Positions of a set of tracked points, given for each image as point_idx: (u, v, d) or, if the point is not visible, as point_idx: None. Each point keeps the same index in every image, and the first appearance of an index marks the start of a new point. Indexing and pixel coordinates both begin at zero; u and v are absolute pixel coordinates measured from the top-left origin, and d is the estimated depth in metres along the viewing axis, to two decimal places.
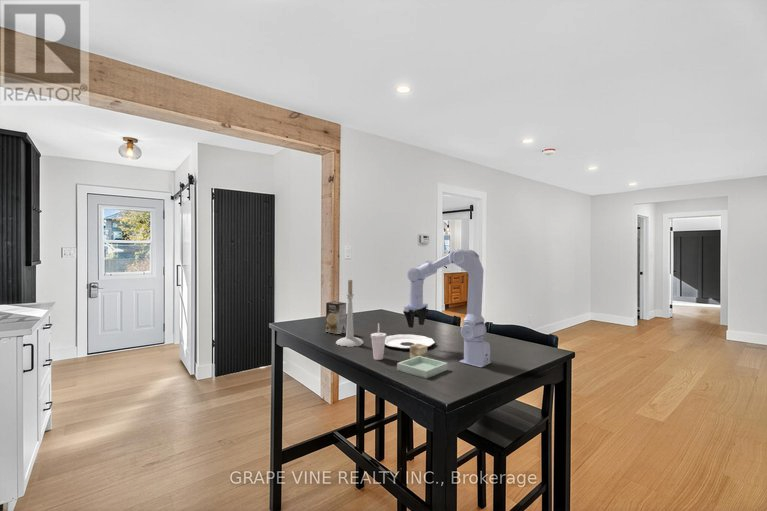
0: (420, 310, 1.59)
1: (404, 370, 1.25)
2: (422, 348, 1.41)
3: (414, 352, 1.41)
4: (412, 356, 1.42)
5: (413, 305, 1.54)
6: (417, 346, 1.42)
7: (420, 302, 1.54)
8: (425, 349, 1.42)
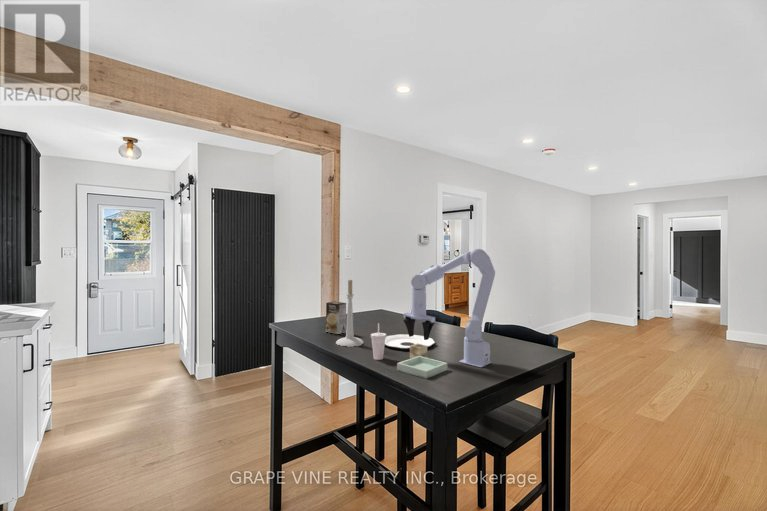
0: None
1: (404, 370, 1.25)
2: (422, 348, 1.41)
3: (414, 352, 1.41)
4: (412, 356, 1.42)
5: None
6: (417, 346, 1.42)
7: (413, 311, 1.41)
8: (425, 349, 1.42)
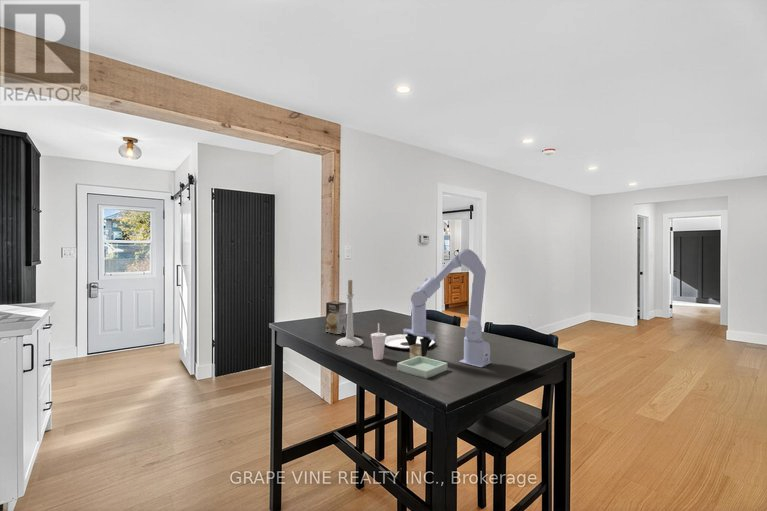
0: None
1: (404, 370, 1.25)
2: None
3: (414, 352, 1.41)
4: (412, 356, 1.42)
5: None
6: (417, 346, 1.42)
7: (413, 328, 1.41)
8: None
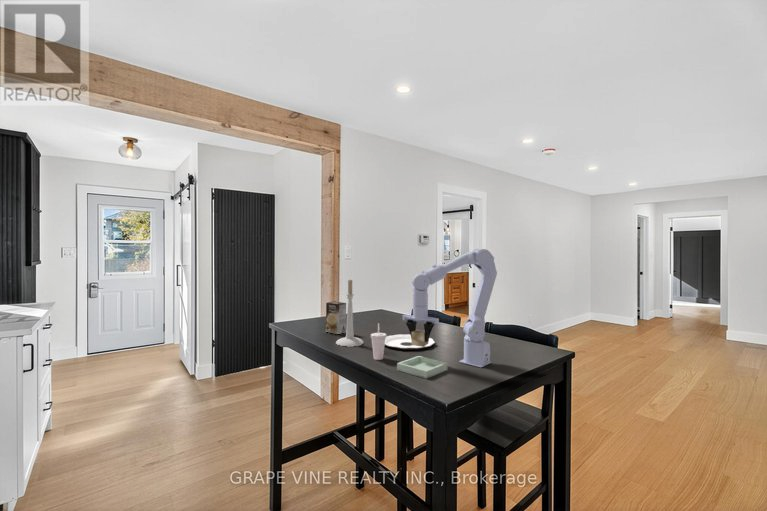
0: None
1: (404, 370, 1.25)
2: None
3: (416, 338, 1.35)
4: (414, 342, 1.36)
5: None
6: (419, 332, 1.36)
7: (415, 313, 1.35)
8: None
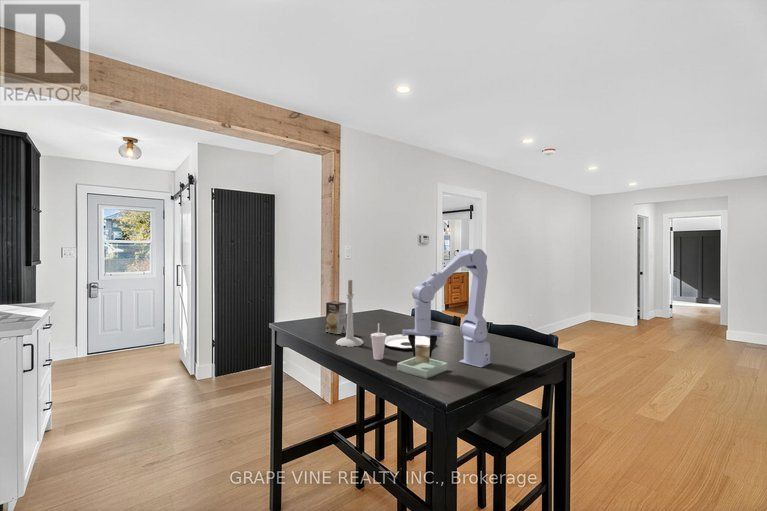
0: None
1: (404, 370, 1.25)
2: None
3: (421, 354, 1.26)
4: (419, 359, 1.26)
5: (414, 330, 1.28)
6: (423, 347, 1.27)
7: (421, 327, 1.25)
8: None
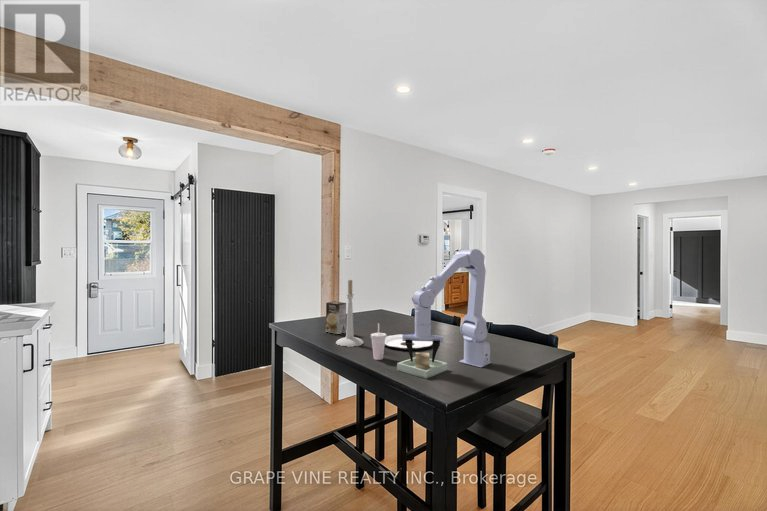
0: None
1: (404, 370, 1.25)
2: None
3: (421, 362, 1.26)
4: (419, 367, 1.26)
5: (414, 335, 1.28)
6: (423, 355, 1.27)
7: (420, 333, 1.25)
8: None
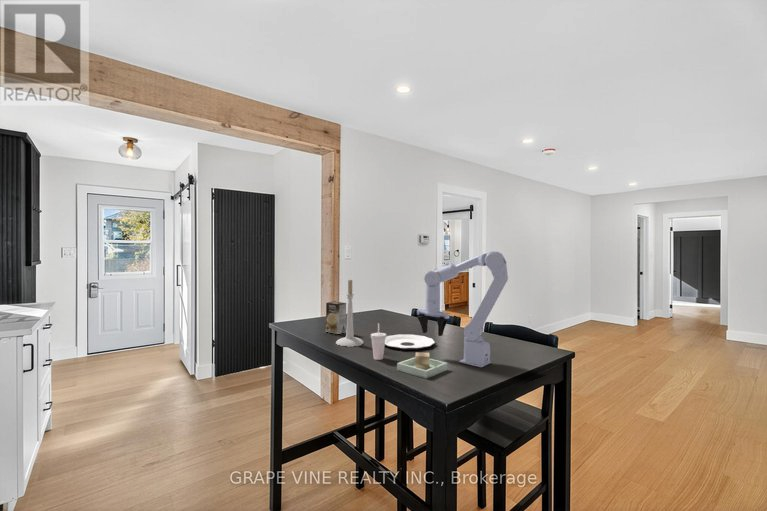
0: None
1: (404, 370, 1.25)
2: None
3: (421, 362, 1.26)
4: (419, 367, 1.26)
5: None
6: (423, 355, 1.27)
7: (427, 308, 1.42)
8: None
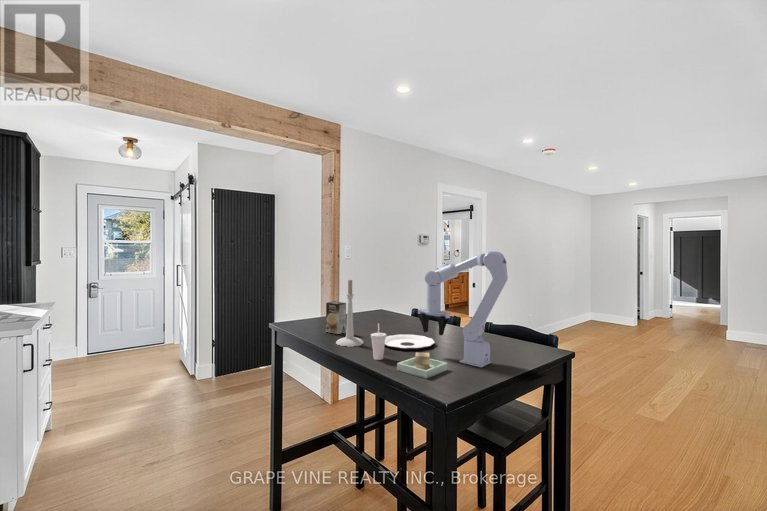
0: None
1: (404, 370, 1.25)
2: None
3: (421, 362, 1.26)
4: (419, 367, 1.26)
5: None
6: (423, 355, 1.27)
7: (428, 307, 1.44)
8: None
